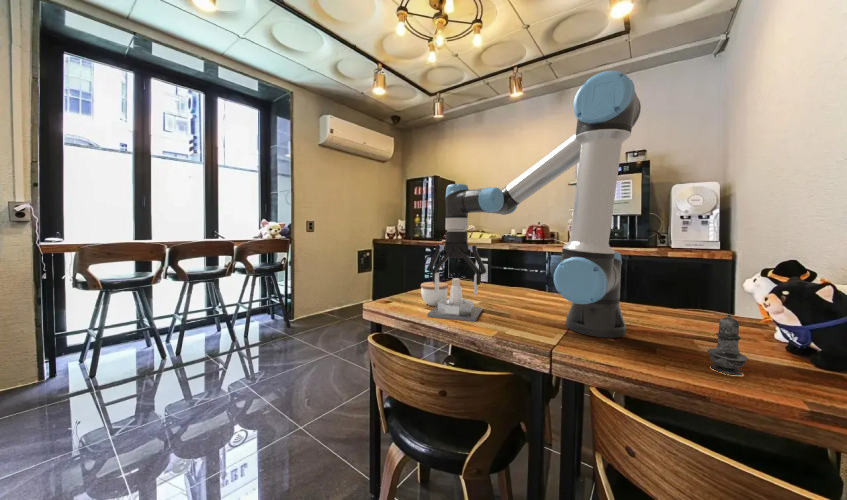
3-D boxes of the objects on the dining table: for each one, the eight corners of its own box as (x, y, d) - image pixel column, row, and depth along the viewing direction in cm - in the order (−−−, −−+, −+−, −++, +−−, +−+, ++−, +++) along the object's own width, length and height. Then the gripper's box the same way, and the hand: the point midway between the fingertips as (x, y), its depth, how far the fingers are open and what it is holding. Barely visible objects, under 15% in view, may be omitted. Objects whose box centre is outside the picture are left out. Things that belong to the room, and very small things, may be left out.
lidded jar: (452, 302, 120) (453, 279, 120) (439, 308, 111) (439, 283, 111) (429, 299, 126) (429, 277, 126) (415, 304, 117) (415, 280, 117)
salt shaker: (459, 313, 101) (459, 281, 100) (445, 311, 104) (445, 279, 103) (466, 309, 105) (466, 278, 104) (452, 307, 109) (452, 276, 107)
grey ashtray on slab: (481, 310, 109) (482, 297, 109) (475, 321, 96) (475, 306, 95) (438, 306, 114) (439, 294, 114) (427, 316, 101) (427, 302, 101)
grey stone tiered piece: (725, 364, 65) (728, 309, 64) (755, 377, 59) (760, 317, 59) (698, 365, 65) (701, 309, 64) (726, 378, 59) (731, 317, 58)
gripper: (495, 231, 103) (494, 293, 104) (425, 230, 111) (425, 288, 112) (492, 231, 95) (491, 297, 97) (418, 230, 104) (418, 292, 105)
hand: (455, 292), depth 104 cm, fingers open, 13 cm apart
